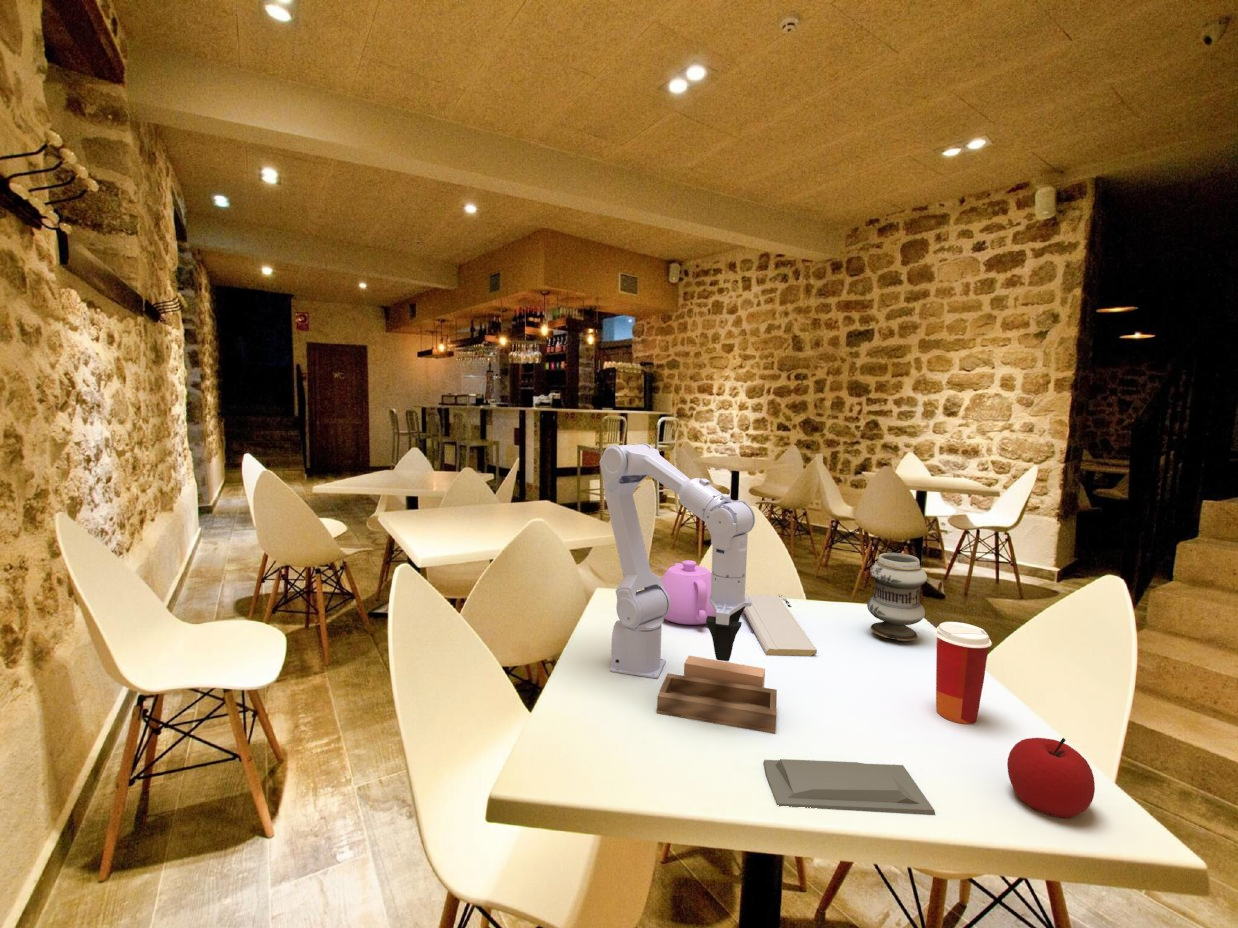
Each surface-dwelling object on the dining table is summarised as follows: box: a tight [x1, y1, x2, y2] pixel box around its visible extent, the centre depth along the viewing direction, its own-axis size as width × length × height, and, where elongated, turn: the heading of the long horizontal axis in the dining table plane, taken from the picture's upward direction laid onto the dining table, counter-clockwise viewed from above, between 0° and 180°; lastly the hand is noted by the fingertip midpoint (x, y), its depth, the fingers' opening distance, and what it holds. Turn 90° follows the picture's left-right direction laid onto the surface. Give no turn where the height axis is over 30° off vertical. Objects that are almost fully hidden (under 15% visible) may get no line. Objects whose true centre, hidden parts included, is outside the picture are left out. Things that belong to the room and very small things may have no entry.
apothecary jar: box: [866, 552, 928, 642], centre depth 132 cm, size 12×12×18 cm
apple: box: [1006, 737, 1096, 819], centre depth 74 cm, size 9×9×10 cm
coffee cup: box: [933, 621, 993, 725], centre depth 96 cm, size 8×8×15 cm
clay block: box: [683, 655, 766, 688], centre depth 104 cm, size 14×4×5 cm, turn 70°
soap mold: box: [762, 758, 936, 816], centre depth 77 cm, size 10×20×4 cm, turn 88°
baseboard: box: [743, 593, 818, 657], centre depth 134 cm, size 31×3×12 cm
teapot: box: [661, 559, 716, 626], centre depth 141 cm, size 22×22×14 cm
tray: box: [656, 672, 778, 735], centre depth 96 cm, size 19×9×4 cm, turn 74°
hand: (725, 650), depth 98 cm, fingers open, 7 cm apart
